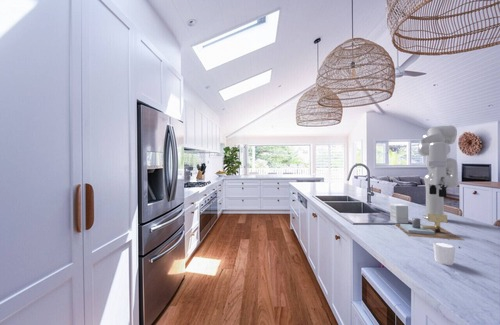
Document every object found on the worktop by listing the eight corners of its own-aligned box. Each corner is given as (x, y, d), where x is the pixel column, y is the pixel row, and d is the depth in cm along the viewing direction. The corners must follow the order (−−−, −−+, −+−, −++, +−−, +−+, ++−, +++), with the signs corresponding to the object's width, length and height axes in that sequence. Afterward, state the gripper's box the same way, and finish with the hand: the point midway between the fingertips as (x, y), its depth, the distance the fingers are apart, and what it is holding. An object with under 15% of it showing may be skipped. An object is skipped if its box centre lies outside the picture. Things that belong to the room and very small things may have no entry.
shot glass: (431, 261, 89) (431, 244, 89) (433, 256, 94) (433, 240, 94) (454, 267, 84) (455, 249, 84) (455, 261, 89) (455, 244, 89)
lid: (400, 226, 131) (400, 215, 131) (423, 227, 128) (423, 216, 128) (408, 232, 120) (408, 220, 120) (434, 234, 117) (434, 222, 116)
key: (421, 229, 124) (421, 213, 124) (444, 231, 121) (445, 214, 121) (423, 230, 122) (423, 214, 122) (447, 232, 119) (447, 215, 119)
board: (394, 226, 136) (394, 223, 136) (440, 229, 129) (440, 226, 129) (408, 238, 115) (408, 235, 115) (465, 243, 108) (465, 240, 108)
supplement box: (401, 222, 144) (401, 203, 144) (408, 225, 137) (408, 205, 137) (389, 222, 145) (389, 203, 145) (396, 225, 138) (396, 205, 138)
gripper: (422, 164, 130) (422, 193, 130) (437, 164, 113) (437, 197, 114) (437, 164, 128) (437, 193, 128) (455, 164, 111) (455, 198, 111)
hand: (437, 195), depth 121 cm, fingers open, 9 cm apart
